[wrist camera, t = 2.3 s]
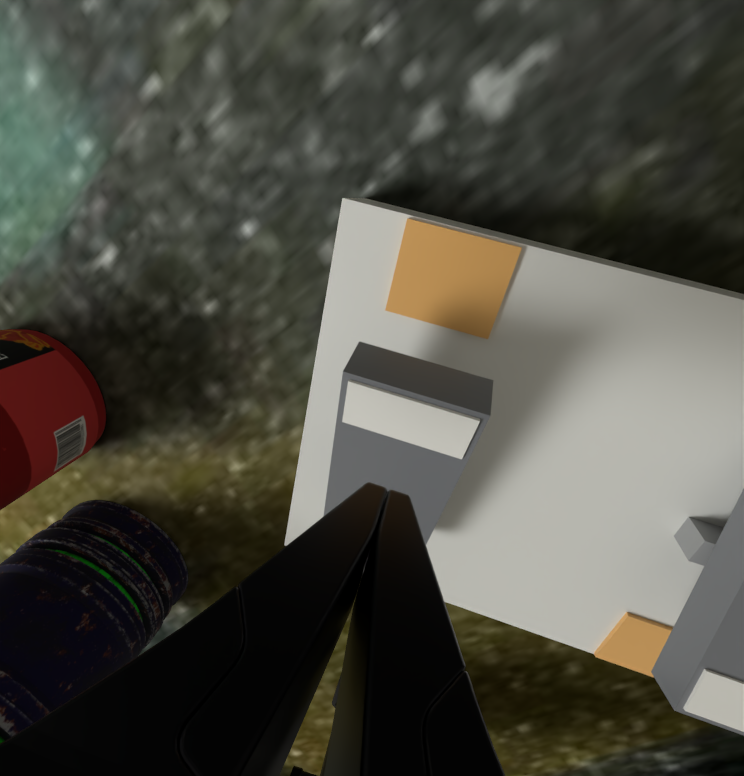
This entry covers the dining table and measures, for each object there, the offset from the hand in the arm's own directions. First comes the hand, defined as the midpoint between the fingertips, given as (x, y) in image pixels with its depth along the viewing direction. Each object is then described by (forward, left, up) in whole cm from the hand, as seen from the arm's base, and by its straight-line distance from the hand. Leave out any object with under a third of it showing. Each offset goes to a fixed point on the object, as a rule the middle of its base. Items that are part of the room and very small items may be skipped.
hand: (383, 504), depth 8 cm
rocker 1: (-3, 0, -5) cm, 6 cm away
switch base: (-3, -6, -11) cm, 13 cm away
